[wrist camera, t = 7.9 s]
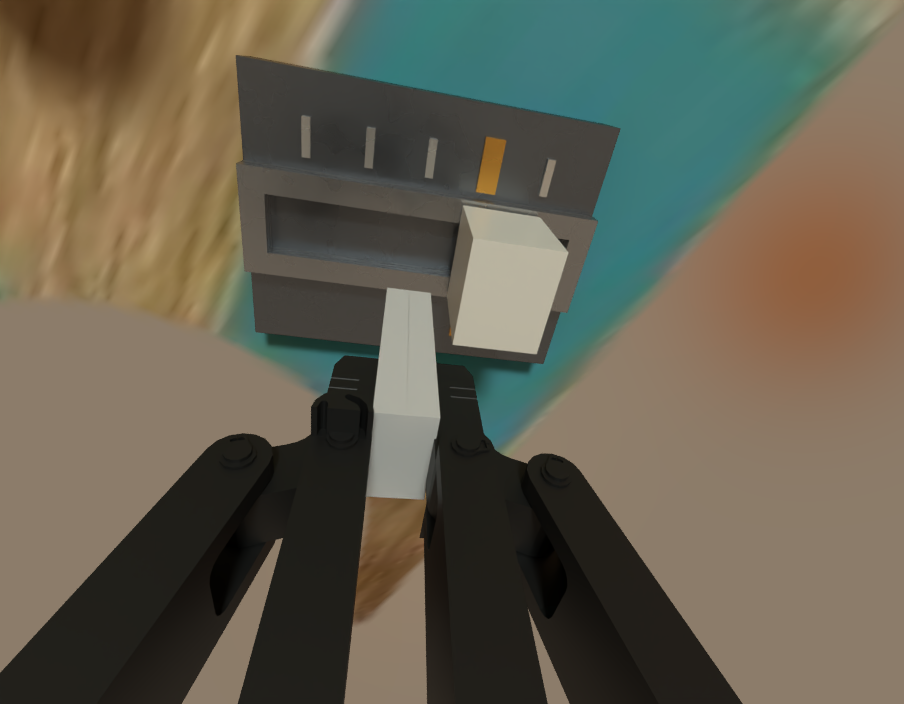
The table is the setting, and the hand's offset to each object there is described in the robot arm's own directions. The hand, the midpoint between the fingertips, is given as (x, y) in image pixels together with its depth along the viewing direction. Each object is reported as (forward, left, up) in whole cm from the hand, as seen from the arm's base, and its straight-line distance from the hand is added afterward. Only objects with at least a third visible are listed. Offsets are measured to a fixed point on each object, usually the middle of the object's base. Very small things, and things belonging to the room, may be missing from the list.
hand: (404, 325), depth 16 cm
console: (+1, 0, -12) cm, 12 cm away
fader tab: (+4, 0, -10) cm, 11 cm away
